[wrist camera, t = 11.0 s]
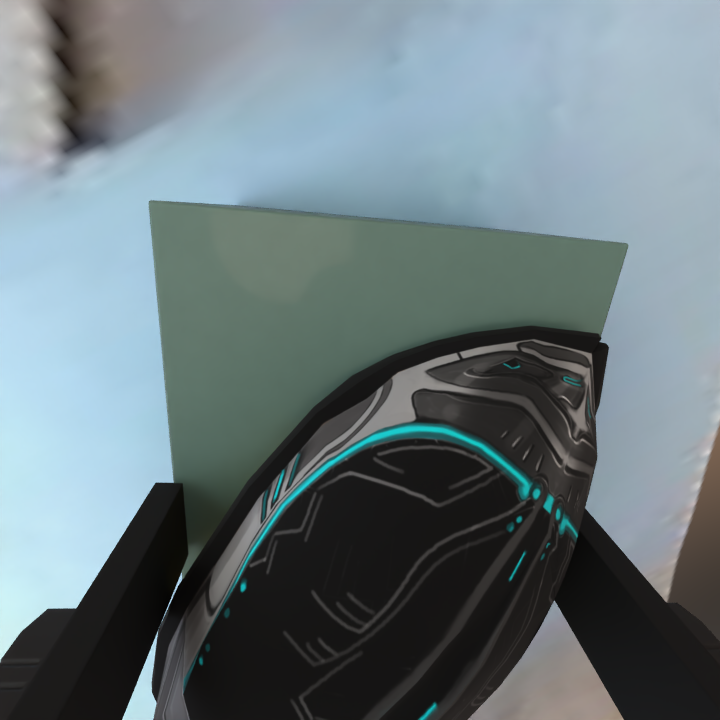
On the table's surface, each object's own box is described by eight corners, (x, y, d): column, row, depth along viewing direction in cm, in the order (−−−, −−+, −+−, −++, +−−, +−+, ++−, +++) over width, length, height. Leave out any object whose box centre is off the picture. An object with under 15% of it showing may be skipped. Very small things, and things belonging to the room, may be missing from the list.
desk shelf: (436, 530, 25) (492, 692, 17) (240, 528, 24) (192, 702, 15) (494, 228, 19) (630, 243, 10) (233, 205, 18) (147, 200, 9)
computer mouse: (661, 423, 12) (917, 587, 7) (296, 700, 16) (280, 955, 10) (492, 214, 10) (694, 219, 4) (99, 599, 13) (-60, 868, 8)
